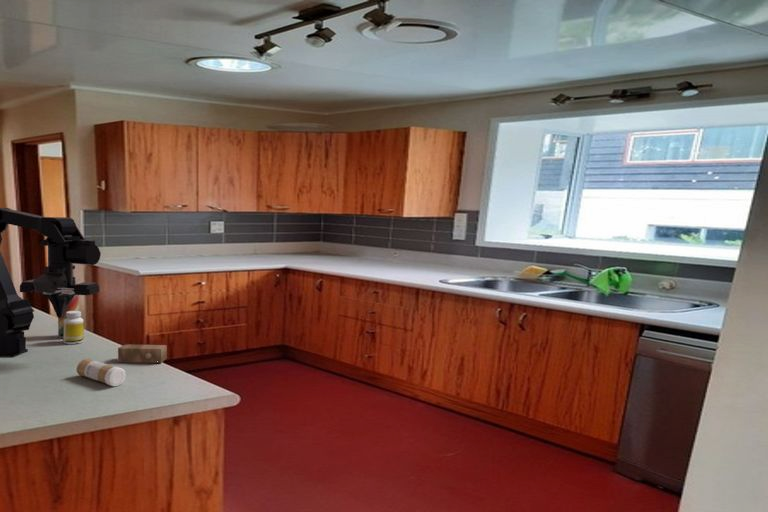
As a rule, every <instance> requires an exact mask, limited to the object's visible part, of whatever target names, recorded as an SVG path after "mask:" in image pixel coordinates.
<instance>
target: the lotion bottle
mask: <svg viewBox="0 0 768 512" xmlns="http://www.w3.org/2000/svg"><path fill="white" fill-rule="evenodd" d="M72 280H75V283H74V284H72V285H76V276H72ZM64 288H65V287H64ZM66 288H67V287H66ZM68 311H80V295H75V296H74V297H73V299H72V301H71V302H70V304H69V306H68V308H67V310H66V312H68ZM66 312H65V314H64V316H63V317H62V318H58V317H57V324H58V325H57V329H58V330H57V331H58V333H57V334H58V336H57V337H58V338H59V339H62V338H63V331H64V320H65V319H67V317H66Z"/></svg>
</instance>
